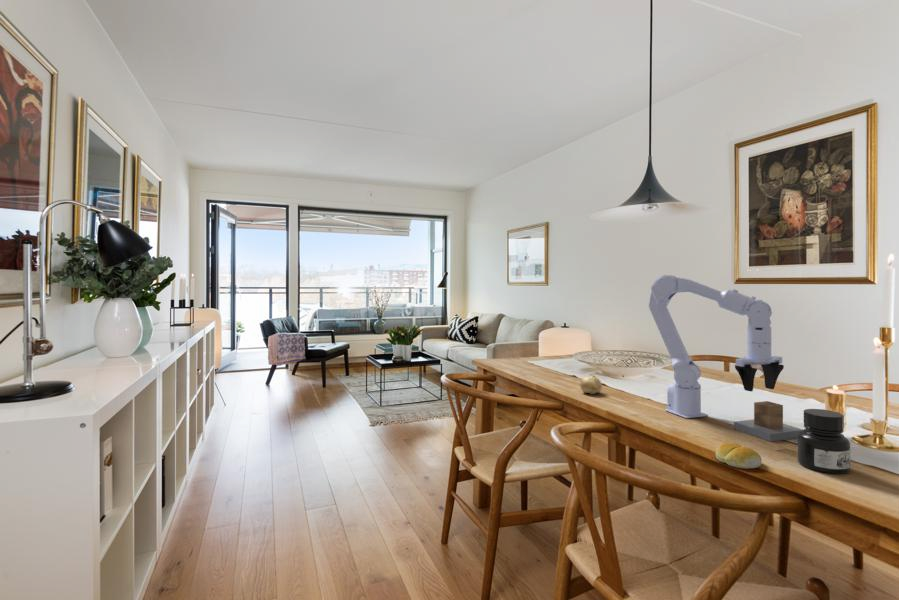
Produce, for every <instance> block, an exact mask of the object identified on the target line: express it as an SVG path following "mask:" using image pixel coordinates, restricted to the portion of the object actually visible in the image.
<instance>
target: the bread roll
mask: <svg viewBox="0 0 899 600" xmlns="http://www.w3.org/2000/svg"><path fill="white" fill-rule="evenodd" d="M715 457H716V459H717V460H718V461H719V462H720V463H724V464H727V465H728V466H730V467H733V468H739V469H746V470H747V469H748V470H749V469H756V468H759V467H761V466H762V457H761V455H760V454H759V453H758V452H757V451H755V450H754V449H753V448H751V447H747V446H743V445H741V444H739V443H736V442H735V443H734V442H725V443H721V444H719V445H718V446H717V447H716V449H715Z"/></svg>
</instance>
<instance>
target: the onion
mask: <svg viewBox="0 0 899 600" xmlns="http://www.w3.org/2000/svg"><path fill="white" fill-rule="evenodd" d="M579 385H580V389H581V391H582V393H583V392H585V393H584V394H586V393H590V394H589V395H593V394H594V395H596V394H599V393H601V391H602V389H603V384H602V382H601V380H600V379H599V378H598V377H596V375H595V374H591V373H590V376H586V377H583V378H582V380H581V381H580V383H579Z"/></svg>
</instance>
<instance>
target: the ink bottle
mask: <svg viewBox="0 0 899 600" xmlns="http://www.w3.org/2000/svg"><path fill="white" fill-rule="evenodd" d="M844 421H845V415H844V414H843V413H841V412H838V411H833V410H829V409H822V408H807V409H804V410H803V427H804V429H803V431H801V432H799V434H798V438H797V462H798V463H799V465H802V466H804V467H806V468H808V469H810V470H813V471H815V472H816V471H817V472H820V473H825V474H838V475H839V474H847V473H849V472H850V471H851V442H850V440H849V439H848V438H847V437H846V436H845V435H844V434H843V433H844V429H845V423H844Z"/></svg>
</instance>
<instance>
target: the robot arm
mask: <svg viewBox="0 0 899 600" xmlns="http://www.w3.org/2000/svg"><path fill="white" fill-rule="evenodd" d="M650 287H651V289H650V290H651V293H650V297H649V303H648V308H649V310H650V313H651V315H652V317H653V320H654V322H655V324H656V327H657V328H658V332H659V334H660V335H661V338H662V340H663V342H664V346H665V347H666V349H667V352H668V354H669V357H670V359H671V365H672V368H673V372H674V373H673V379H674V381H675V382H674V383H670V385H669V386H668V387H667V390H666V406H667V408H665V409H664V411H666V412H669V413H671V414H673V415H675V416H676V415H677V416H679V417H682V418H683V419H684V418H685V419H693V418H701V417H708V416H709V415H708V414H707V413H704V412H702V411H701V410H702V399H701V397H702V393H701V392H702V389H701V387H702V386H701V383H699V381H698V380H699V379H700V377H701V374H702V373H701V369H700V368H699V366H698V365H697V364H696V363H695V362H694V361H693V358H691V356H690V354H689V353H688V351H687V350H686V346H685V345H684V343H683V340H682V338H681V335H680V333H679V332H678V329H677V327H676V325H675V322H674V320H673V318H672V315H671V313H670V310H669V309H668V305H669V304H670V302H671V299H672V298H673V297H674V296H675V295H676V294H677V293H692V294H695V295H697V296H701V297H703V298H706V299H709V300H711V301H712V300H713V301H714V302H717V304H718V307H719V308H721V309H724V310H726V311H730V312H732V313H734V314H737V315H740V316H746V317H747V318H748V319H747V321H748V325H747V326H746V331H747V332H746V333H747V334H746V336H747V337H746V344H747V346H746V347H747V349H746V356H745V357H741V358H735V365H734V368H735V370H736V372H737V373H738V374H739V378H740V380H741V382H742V385H743V389H744V391H748V392H753V391H754V387H755V386H754V384H755V383H754V382H755V377H756V374H757V371H758V368H757V367H753V366H761V368H762V373H763V378H764V387H765V388H766V389H770V390H775V387H776V383H777V380H778V377H779V375H780V374H781V372H782V371H783V370H784V366H785V365H784V364H783V356H779V355H772V326H771V324H772V321H771V316H772V314H773V311H772V308H771V305H770V304H769V303H767V302H766V301H764V300H763V299H757V297H756V296H752V297H751V296H748V295H745V294H743V293H740V292H739V290H738V289H732V290H731V289H726V290H722V291H720V290H718V289H715V288H713V287H710V286H708V285H706V284H705V285H704V284H703V283H700V282H697V281H694V280H692V279H689V278H684V277H679V276H675V275H672V274H671V275H668V274H667V275H666V274H663V275H660V276H658V277H657V278H656V279H655V280H654V281H653V284H652V285H651V286H650Z"/></svg>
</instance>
